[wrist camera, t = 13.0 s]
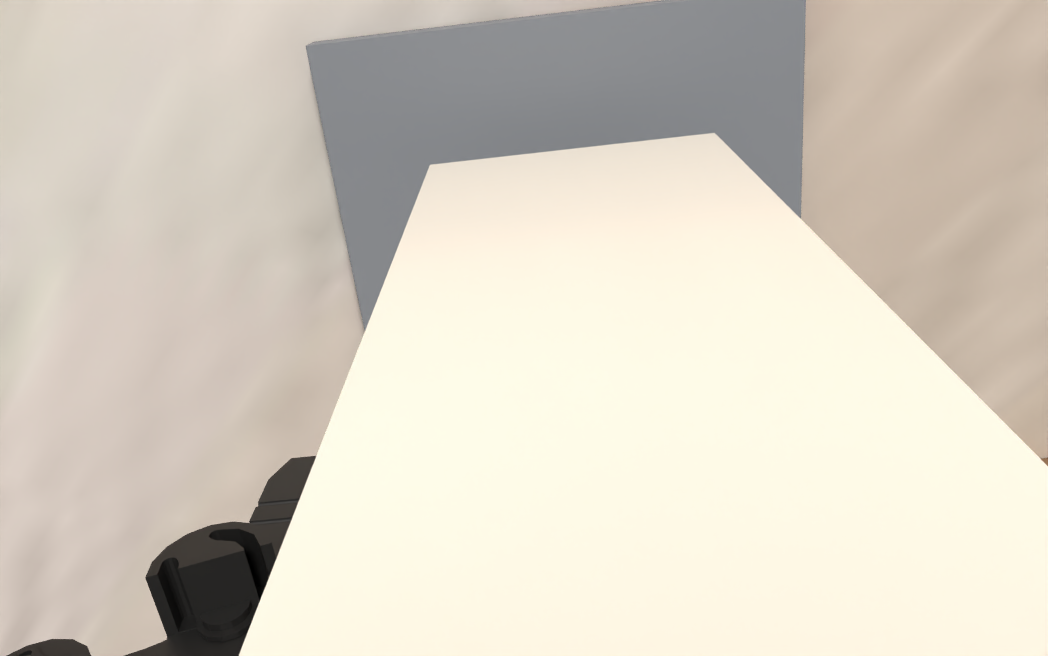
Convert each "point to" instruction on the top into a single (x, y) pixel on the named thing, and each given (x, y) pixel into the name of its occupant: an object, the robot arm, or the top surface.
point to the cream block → (650, 439)
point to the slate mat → (552, 100)
